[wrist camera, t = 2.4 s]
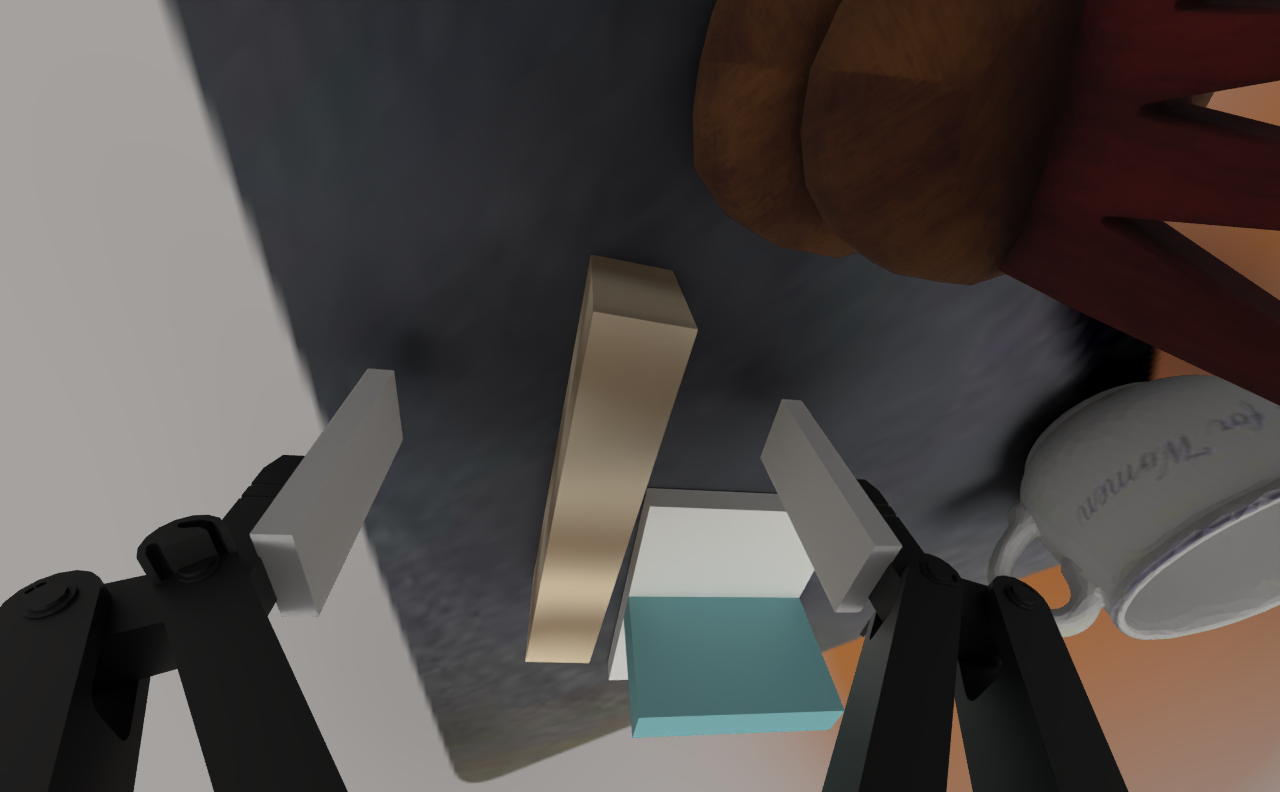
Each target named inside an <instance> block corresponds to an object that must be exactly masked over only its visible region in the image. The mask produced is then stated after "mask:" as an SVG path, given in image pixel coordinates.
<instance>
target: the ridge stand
mask: <svg viewBox="0 0 1280 792" xmlns="http://www.w3.org/2000/svg"><path fill="white" fill-rule="evenodd" d="M813 572H814V568H813V566H812V564H811V562H810V560H809V557H808V555H807V553H806V551H805V549H804V547H803V545H802V543H801V541H800V539H799V537H798V535H797V533H796V531H795V528H794V526H793V524H792V522H791V520H790V518H789V516H788V514H787V512H786V510H785V508H784V506H783V504H782V501H781V499H780V497H779V495H778V494H770V493H747V492H725V491H703V490H680V489H658V488H647V491H646V495H645V500H644V504H643V509H642V513H641V517H640V522H639V526H638V531H637V535H636V540H635V544H634V548H633V553H632V557H631V562H630V566H629V571H628V575H627V579H626V584H625V588H624V593H623V597H622V602H621V606H620V610H619V615H618V619H617V624H616V628H615V633H614V637H613V641H612V646H611V650H610V655H609V659H608V674H609V680H628V685H629V699H630V713H631V726H632V737H633V738H640V737H662V736H663V737H664V736H686V735H687V736H689V735H711V734H734V733H735V734H736V733H761V732H784V731H808V730H829V729H830V728H831V727H832V726H833V725H834V723H835V722H836V721H837V720H838V718H839V717H840V716H841V715H842V713H843V712H844V711H845V710H844V708H843V705H842V703H841V700H840V698H839V695H838V693H837V690H836V688H835V685H834V683H833V681H832V678H831V676H830V673H829V671H828V668H827V666H826V663H825V661H824V658H823V656H822V653H821V651H820V648H819V646H818V643H817V641H816V638H815V636H814V633H813V631H812V628H811V626H810V623H809V621H808V618H807V616H806V614H805V611H804V609H803V606H802V604H801V601H800V599H799V597H800V595H801V593H802V592H803V590H804V588H805V586H806V584H807V583H808V581H809V579H810V577H811V575H812V574H813Z"/></svg>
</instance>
